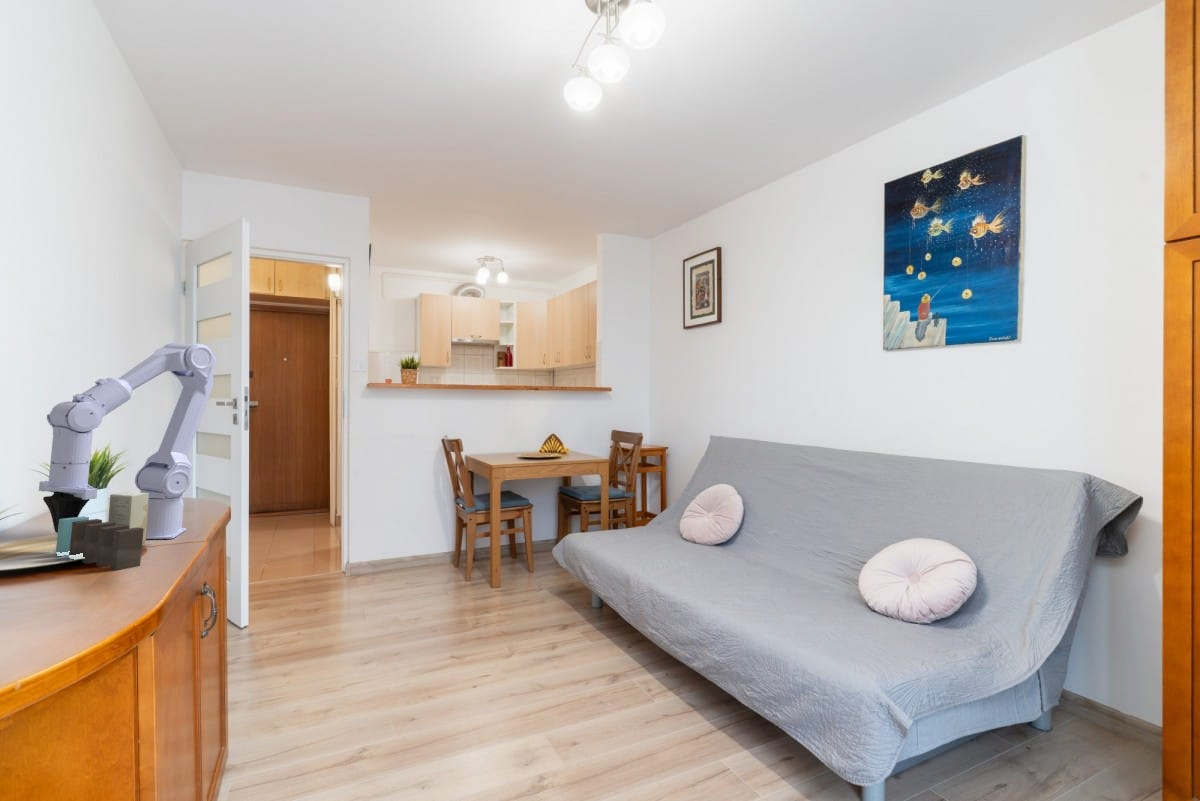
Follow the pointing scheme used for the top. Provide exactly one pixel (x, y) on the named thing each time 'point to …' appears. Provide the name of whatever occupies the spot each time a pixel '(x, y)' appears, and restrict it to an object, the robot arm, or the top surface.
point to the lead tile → (66, 533)
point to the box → (129, 510)
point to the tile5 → (126, 548)
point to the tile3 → (93, 541)
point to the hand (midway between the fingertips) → (63, 531)
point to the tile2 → (79, 535)
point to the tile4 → (106, 544)
